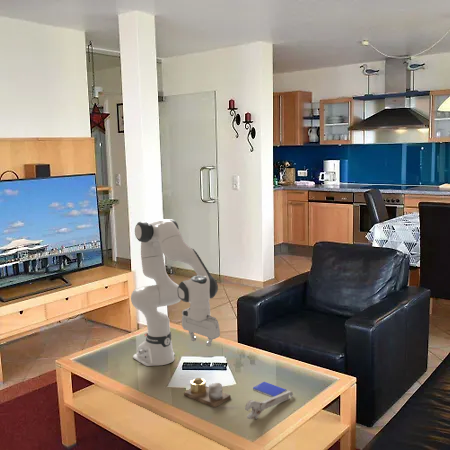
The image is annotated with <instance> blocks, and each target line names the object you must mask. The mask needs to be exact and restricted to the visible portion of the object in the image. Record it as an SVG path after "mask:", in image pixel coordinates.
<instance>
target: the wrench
mask: <svg viewBox="0 0 450 450" xmlns="http://www.w3.org/2000/svg"><path fill="white" fill-rule="evenodd" d="M293 395H294V393H293V391H290V390H287V391H286V392H284V393H281V394H279V395H277V396H274V397H270V398H268V399H265V400H263V401H256V400H253V399H251V400H249V401H247V403H246V405H245V406H244V410H245V411H247V412H249V411H250V409H251V411H250V412H249V413H248V414H247V416H246V418H247V419H249V420H253V419H255V420H258V418H259V416H260V415H261V414H262V412H263V411H264V410H267V409H268V408H271V407H273V406H275V405H278V404H281V403H283V402H285V401H288V400H290V399H291V398H289V396H290V397H292V398H293Z"/></svg>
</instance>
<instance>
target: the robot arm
mask: <svg viewBox="0 0 450 450" xmlns="http://www.w3.org/2000/svg"><path fill="white" fill-rule="evenodd" d="M134 234H135V239H137V241H138V242H140V259H141V268H142V273H143V275H144V276H145V277H146V278H149V279H152V280H154V281H155V284H154V285H146V286H141V287H138V288H136V289H133V290H132V291H131V296H130V302H131V304H132V306H133V308H135V309H137V310H139V311H140V312H141V313H142V314H143V316H144V318H145V321H146V326H147V332H146V333H144V337H145V339H144V341H142V342H141V343H140V344H139V345H138V346H137V348H136V351H137V352H136V353H134V354H133V356H132V358H133V359H134V360H136V361H137V362H139V363H140V364H142V365H144V366H145V367H151V366H163V365H168V364H170V363H172V362H174V361H175V355H176V354H175V352H174V349H173V348H174V347H173V341H172V332H171V326H170V324H171V323H170V318H169V316H168V315H167V314H166V313H164V312H161V311H158V308H160V307H168V306H173V305H176V304H178V303H180V302H181V301H183V302H184V303H189V304H190V306H189V307H188V308H185V309H182V311H181V315H182V316H181V327H182V329H183V330H185V331H188V334H189V336H190V341H192V342H196V340H197V336H195V334H197V335H200V336H203V337H206V338H207V341H206V342H205V345H206V346H207V347H212V342H213V340H215V339H218V338H219V337H220V336H221V332H220V331H221V330H220V329H221V328H220V324H219V321H218V319H217V318H216V317H214V316H211V304H210V299H214V297H215V296H216V295H217V293H218V290H219V286H218V283H217V281H216V279H215V278H214V276H212V274H211V273H210V272H209V270H208V268H207V267H206V265H205V264H204V261H203V260H202V258H201V257H200V255H199V254H198V252H197V251H196V250H195V249H194V248H193V247H191V246H189V245H188V244H187V243H186V241H184V239H183V236H182V234H181V232H180V229H179V224H178V223H177V221H176V220H175V219H172V218H171V219H170V218H166V219H164V218H156V219H151V220H150V219H149V220H141V221H139V222H137V223H136V225H135V228H134ZM165 257H166V258H167V259H168V260H170V261H174V262H179V263H184V264H187V265H189V266H191V267H192V269H193V270H194V272H195V273H196V275H194V276H192V277H191V278H190V279H186V280H182V281H181V282H180V283H179V284H178V283H176V282H175V281H174V280H172V279H171V278H170V276H169V275H168V273H167V270H166V265H165V264H166V263H165V259H164V258H165Z"/></svg>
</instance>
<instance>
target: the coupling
mask: <svg viewBox="0 0 450 450" xmlns="http://www.w3.org/2000/svg"><path fill="white" fill-rule="evenodd" d="M195 379H196V378H193V379H191V380H190V389H191V392H192V393H195V394H200V393H204V392H205V391H206V386H207V384H206V383H207V382H206V380H205V379H204V378H201V379H202V383H201V384H195V381H194V380H195Z"/></svg>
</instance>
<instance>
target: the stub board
mask: <svg viewBox="0 0 450 450" xmlns="http://www.w3.org/2000/svg"><path fill="white" fill-rule="evenodd" d="M194 379H195V380H194V381H195V384H201V383H202V379H203V378H201V377H196V378H194ZM183 395H184V397H186V398H187V397H188V398H190V399H192V400H194V401H198V402H200V403H202V404H204V405H208V406H210V407H213V408H217V407H218V406H220V405H222V404H223V403H225V402H227V401H229V400H230V399H231V398H232V397H231V394H229V393H226V392H224V391H223V385H222V383H220V382H212V383H210V384H209V385H208V386H207V385H206V391H205V392H204V393H200V394H195V393H192V392H191V388H189V389H187V390H185V391H184V392H183Z"/></svg>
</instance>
